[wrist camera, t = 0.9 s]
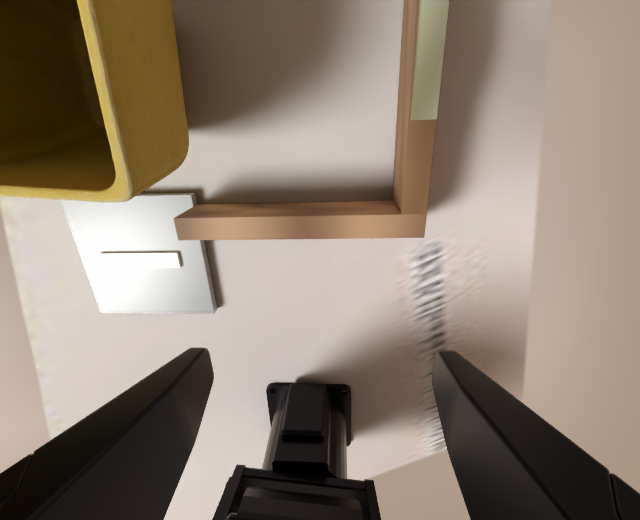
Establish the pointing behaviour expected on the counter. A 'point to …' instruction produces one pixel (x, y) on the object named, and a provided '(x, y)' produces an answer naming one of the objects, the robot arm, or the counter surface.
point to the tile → (141, 255)
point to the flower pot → (89, 98)
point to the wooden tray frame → (409, 164)
